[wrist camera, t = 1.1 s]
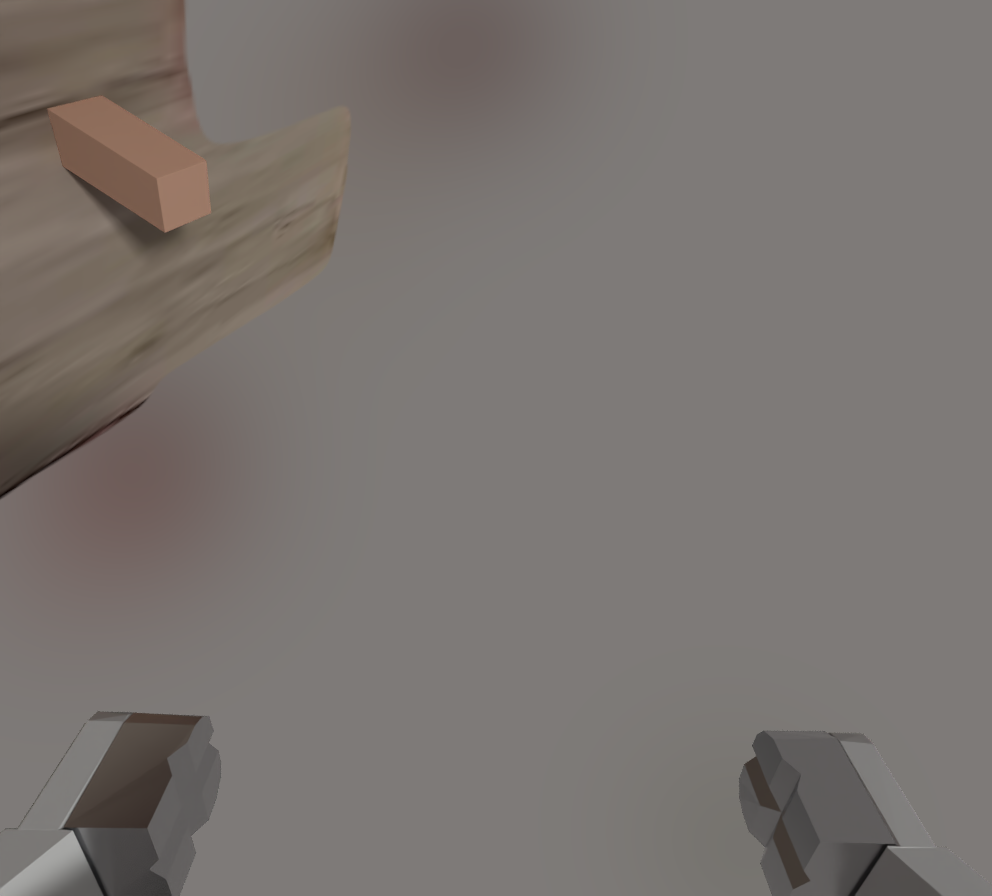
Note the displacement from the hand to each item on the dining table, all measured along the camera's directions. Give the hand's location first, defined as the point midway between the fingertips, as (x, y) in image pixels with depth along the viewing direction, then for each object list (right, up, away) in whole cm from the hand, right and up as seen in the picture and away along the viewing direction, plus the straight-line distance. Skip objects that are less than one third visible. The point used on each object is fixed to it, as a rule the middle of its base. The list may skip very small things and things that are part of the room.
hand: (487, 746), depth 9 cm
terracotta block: (-36, +32, +45) cm, 66 cm away
